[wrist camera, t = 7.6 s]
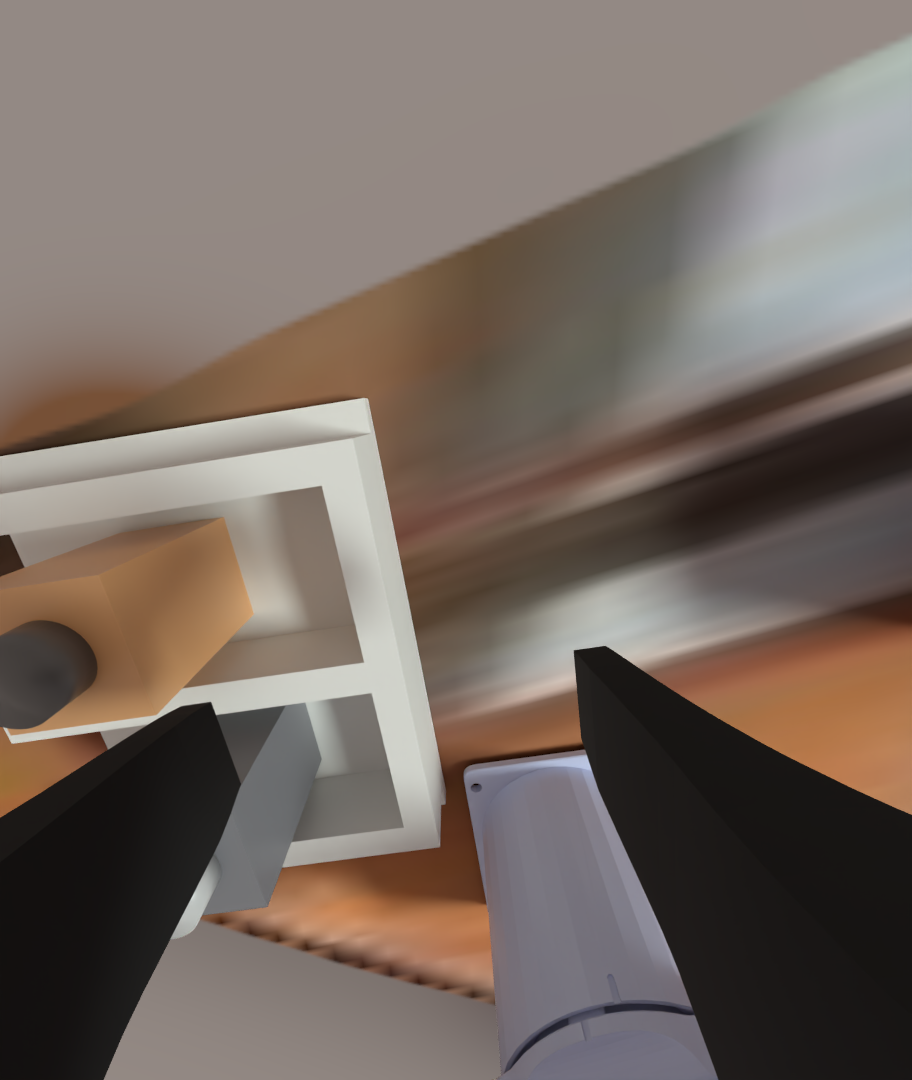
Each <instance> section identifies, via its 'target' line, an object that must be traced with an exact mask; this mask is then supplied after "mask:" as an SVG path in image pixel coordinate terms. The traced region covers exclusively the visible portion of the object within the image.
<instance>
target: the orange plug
mask: <svg viewBox="0 0 912 1080" xmlns="http://www.w3.org/2000/svg"><path fill="white" fill-rule="evenodd" d="M253 615H254V613H253V609H252V606H251V603H250V600H249V597H248V593H247V590H246V587H245V584H244V581H243V577H242V574H241V571H240V568H239V564H238V561H237V558H236V555H235V552H234V548H233V545H232V542H231V539H230V535H229V532H228V529H227V526H226V523H225V519H224V517H220V518H214V519H207V520H201V521H194V522H188V523H181V524H175V525H168V526H162V527H155V528H149V529H142V530H136V531H129V532H123V533H118V534H115V535H113V536H110V537H107V538H104V539H102V540H99V541H96V542H93V543H91V544H88V545H85V546H82V547H80V548H77V549H74V550H72V551H69V552H66V553H63V554H61V555H58V556H55V557H52V558H50V559H47V560H44V561H41V562H39V563H36V564H33V565H30V566H28V567H25V568H22V569H20V570H17V571H14V572H11V573H9V574H6V575H3V576H0V727H4V728H7V729H8V731H9V733H10V735H11V736H12V735H19V734H26V733H33V732H41V731H48V730H55V729H62V728H69V727H76V726H83V725H90V724H97V723H104V722H111V721H119V720H126V719H133V718H140V717H147V716H154V715H157V714H158V713H159V712H160V711H161V710H162V709H163V708H164V707H165V706H166V705H167V704H168V703H169V701H170V700H171V699H172V698H173V697H174V696H175V695H176V694H177V693H178V692H179V691H180V690H181V689H182V688H183V687H184V686H185V685H186V684H187V683H188V682H189V681H190V680H191V679H192V678H193V677H194V676H195V675H196V674H197V673H198V672H199V671H200V669H201V668H202V667H203V666H204V665H205V664H206V663H207V662H208V661H209V660H210V659H211V658H212V657H213V656H214V655H215V654H216V653H217V652H218V651H219V650H220V649H221V648H222V647H223V646H224V645H225V644H226V643H227V642H228V641H229V640H230V638H231V637H232V636H233V635H234V634H235V633H236V632H237V631H238V630H239V629H240V628H241V627H242V626H243V625H244V624H245V623H246V622H247V621H248V620H249V619H250V618H251V617H252V616H253Z"/></svg>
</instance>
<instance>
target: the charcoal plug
mask: <svg viewBox="0 0 912 1080" xmlns="http://www.w3.org/2000/svg"><path fill="white" fill-rule="evenodd" d="M216 716H217V719H218V722H219V725H220V727H221V730H222V733H223V736H224V738H225V741H226V744H227V747H228V749H229V752H230V755H231V758H232V760H233V763H234V766H235V769H236V771H237V774H238V777H239V780H240V782H241V786H240V789H239V792H238V795H237V797H236V800H235V803H234V806H233V809H232V812H231V815H230V817H229V820H228V822H227V825H226V827H225V830H224V832H223V835H222V838H221V840H220V842H219V844H218V846H217V848H216V850H215V852H214V855H213V857H212V859H211V860H210V862H209V864H208V866H207V868H206V870H205V872H204V874H203V876H202V878H201V880H200V882H199V884H198V886H197V888H196V890H195V892H194V894H193V896H192V898H191V900H190V902H189V904H188V906H187V908H186V910H185V912H184V914H183V916H182V917H181V919H180V921H179V923H178V925H177V927H176V929H175V931H174V933H173V935H172V937H171V939H170V940H172V939H177V938H181V937H183V936H186V935H187V934H189V933H190V932H192V931H193V930H194V929H195V927H196V926H197V924H198V922H199V920H200V918H201V916H202V915H209V914H216V913H224V912H232V911H240V910H248V909H256V908H264V907H268V904H269V902H270V899H271V896H272V893H273V891H274V888H275V885H276V883H277V880H278V877H279V874H280V872H281V869H282V866H283V864H284V861H285V858H286V855H287V853H288V850H289V847H290V845H291V842H292V839H293V836H294V834H295V831H296V828H297V826H298V823H299V820H300V817H301V815H302V812H303V809H304V807H305V804H306V801H307V798H308V796H309V793H310V790H311V787H312V785H313V782H314V779H315V777H316V774H317V771H318V768H319V766H320V763H321V760H322V758H321V755H320V751H319V748H318V744H317V741H316V738H315V734H314V731H313V727H312V724H311V720H310V717H309V714H308V710H307V707H306V703H298V704H291V705H284V706H277V707H269V708H262V709H255V710H248V711H241V712H234V713H227V714H220V715H216Z"/></svg>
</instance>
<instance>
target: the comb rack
mask: <svg viewBox="0 0 912 1080" xmlns="http://www.w3.org/2000/svg"><path fill="white" fill-rule="evenodd" d="M220 517H224V519H225V523H226V526H227V529H228V532H229V535H230V539H231V542H232V545H233V548H234V552H235V555H236V558H237V561H238V564H239V568H240V571H241V574H242V577H243V581H244V584H245V587H246V590H247V593H248V597H249V600H250V603H251V606H252V609H253V613H254V615H253V616H252V617H251V618H250V619H249V620H248V621H247V622H246V623H245V624H244V625H243V626H242V627H241V628H240V629H239V630H238V631H237V632H236V633H235V634H234V635H233V636H232V637H231V638H230V640H229V641H228V642H227V643H226V644H225V645H224V646H223V647H222V648H221V649H220V650H219V651H218V652H217V653H216V654H215V655H214V656H213V657H212V658H211V659H210V660H209V661H208V662H207V663H206V664H205V665H204V666H203V667H202V668H201V669H200V671H199V672H198V673H197V674H196V675H195V676H194V677H193V678H192V679H191V680H190V681H189V682H188V683H187V684H186V685H185V686H184V687H183V688H182V689H181V690H180V691H179V692H178V693H177V694H176V695H175V696H174V697H173V698H172V699H171V700H170V701H169V703H168V704H167V705H166V706H165V707H164V708H163V709H162V710H161V711H160V712H159V713H158V714H157V715H154V716H147V717H140V718H133V719H126V720H119V721H111V722H104V723H97V724H90V725H83V726H76V727H69V728H62V729H55V730H48V731H41V732H33V733H26V734H19V735H12V736H11V735H10V733H9V731H8V729H7V728H4V727H3V728H4V730H5V732H6V733H7V735H8V737H9V739H10V741H11V743H12V744H13V743H21V742H28V741H35V740H42V739H49V738H56V737H63V736H70V735H77V734H85V733H92V732H99V731H100V733H101V735H102V737H103V739H104V742H105V744H106V746H107V748H108V749H110V748H112V747H113V746H115V745H116V744H118V743H119V742H121V741H122V740H124V739H126V738H127V737H129V736H130V735H132V734H134V733H135V732H137V731H138V730H140V729H142V728H143V727H145V726H146V725H148V724H150V723H151V722H153V721H155V720H157V719H158V718H160V717H162V716H163V715H165V714H167V713H169V712H171V711H173V710H175V709H177V708H179V707H180V706H185V705H192V704H199V703H206V702H211V703H212V705H213V708H214V711H215V714H216V715H220V714H227V713H234V712H241V711H248V710H255V709H262V708H269V707H277V706H284V705H291V704H298V703H306V707H307V710H308V714H309V717H310V720H311V724H312V727H313V731H314V734H315V738H316V741H317V744H318V748H319V751H320V755H321V758H322V760H321V763H320V766H319V768H318V771H317V774H316V777H315V779H314V782H313V785H312V787H311V790H310V793H309V796H308V798H307V801H306V804H305V807H304V809H303V812H302V815H301V817H300V820H299V823H298V826H297V828H296V831H295V834H294V836H293V839H292V842H291V845H290V847H289V850H288V853H287V855H286V858H285V861H284V864H283V866H282V868H283V867H291V866H299V865H306V864H314V863H322V862H330V861H337V860H345V859H353V858H360V857H368V856H376V855H384V854H391V853H399V852H407V851H414V850H422V849H430V848H438V847H440V834H441V805H445V804H446V788H445V783H444V778H443V773H442V768H441V763H440V758H439V753H438V748H437V743H436V738H435V733H434V728H433V723H432V718H431V713H430V708H429V703H428V698H427V693H426V688H425V683H424V678H423V673H422V668H421V663H420V657H419V652H418V647H417V642H416V637H415V632H414V627H413V622H412V617H411V612H410V607H409V602H408V597H407V592H406V587H405V582H404V577H403V572H402V567H401V562H400V557H399V552H398V547H397V542H396V537H395V532H394V527H393V522H392V517H391V512H390V507H389V502H388V497H387V492H386V487H385V482H384V477H383V472H382V467H381V462H380V457H379V452H378V447H377V442H376V437H375V432H374V427H373V422H372V417H371V412H370V407H369V402H368V399H367V398H361V399H355V400H348V401H342V402H336V403H330V404H324V405H317V406H311V407H305V408H299V409H292V410H286V411H280V412H274V413H267V414H261V415H255V416H249V417H243V418H236V419H230V420H224V421H218V422H211V423H205V424H199V425H193V426H187V427H180V428H174V429H168V430H162V431H155V432H149V433H143V434H137V435H131V436H124V437H118V438H112V439H106V440H99V441H93V442H87V443H81V444H75V445H68V446H62V447H56V448H50V449H43V450H37V451H31V452H25V453H18V454H12V455H6V456H0V536H1V535H8V534H10V537H11V539H12V541H13V543H14V545H15V548H16V550H17V552H18V554H19V556H20V558H21V561H22V563H23V565H24V567H28V566H30V565H33V564H36V563H39V562H41V561H44V560H47V559H50V558H52V557H55V556H58V555H61V554H63V553H66V552H69V551H72V550H74V549H77V548H80V547H82V546H85V545H88V544H91V543H93V542H96V541H99V540H102V539H104V538H107V537H110V536H113V535H115V534H118V533H123V532H129V531H136V530H142V529H149V528H155V527H162V526H168V525H175V524H181V523H188V522H194V521H201V520H207V519H214V518H220Z"/></svg>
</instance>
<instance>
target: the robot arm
mask: <svg viewBox="0 0 912 1080" xmlns="http://www.w3.org/2000/svg"><path fill="white" fill-rule="evenodd" d="M574 659H575V671H576V682H577V694H578V706H579V717H580V729H581V739H582V742H583V745H584V748H585V750H577V751H570V752H563V753H555V754H548V755H540V756H533V757H526V758H518V759H511V760H503V761H496V762H488V763H481V764H474V765H470V766H468V767H467V768H466V769H465V770H464V783H465V789H466V794H467V799H468V805H469V810H470V816H471V821H472V827H473V832H474V838H475V843H476V849H477V854H478V860H479V865H480V870H481V876H482V881H483V887H484V892H485V898H486V903H487V909H488V913H489V925H490V938H491V951H492V964H493V977H494V989H495V1002H496V1014H497V1027H498V1041H499V1053H500V1065H501V1066H500V1067H501V1076H500V1077H498V1078H496V1079H493V1080H912V815H911V814H908V813H906V812H904V811H901V810H899V809H896V808H894V807H892V806H890V805H888V804H885V803H883V802H881V801H879V800H876V799H874V798H872V797H870V796H868V795H865V794H863V793H861V792H859V791H857V790H854V789H852V788H850V787H848V786H846V785H844V784H842V783H840V782H838V781H836V780H834V779H832V778H830V777H828V776H826V775H824V774H822V773H819V772H817V771H815V770H813V769H811V768H809V767H807V766H805V765H803V764H801V763H799V762H797V761H795V760H793V759H791V758H789V757H787V756H785V755H783V754H781V753H779V752H778V751H776V750H774V749H772V748H770V747H768V746H766V745H764V744H762V743H761V742H759V741H757V740H755V739H753V738H752V737H750V736H748V735H746V734H745V733H743V732H741V731H739V730H738V729H736V728H734V727H732V726H730V725H729V724H727V723H725V722H723V721H722V720H720V719H718V718H717V717H715V716H713V715H712V714H710V713H708V712H707V711H705V710H703V709H702V708H700V707H698V706H697V705H695V704H693V703H692V702H690V701H689V700H687V699H685V698H684V697H682V696H681V695H679V694H677V693H676V692H674V691H673V690H671V689H670V688H668V687H667V686H665V685H663V684H662V683H660V682H659V681H657V680H656V679H654V678H653V677H651V676H650V675H648V674H647V673H645V672H644V671H642V670H641V669H639V668H638V667H636V666H635V665H633V664H632V663H631V662H629V661H628V660H626V659H625V658H623V657H622V656H620V655H619V654H617V653H616V652H614V651H613V650H611V649H609V648H608V647H606V646H602V647H595V648H587V649H580V650H574ZM475 783H478V784H479V785H473V784H475ZM240 786H241V782H240V780H239V777H238V774H237V771H236V769H235V766H234V763H233V760H232V758H231V755H230V752H229V749H228V747H227V744H226V741H225V738H224V736H223V733H222V730H221V727H220V725H219V722H218V719H217V716H216V714H215V711H214V708H213V705H212V703H211V702H206V703H199V704H192V705H185V706H180V707H179V708H177V709H175V710H173V711H171V712H169V713H167V714H165V715H163V716H162V717H160V718H158V719H157V720H155V721H153V722H151V723H150V724H148V725H146V726H145V727H143V728H142V729H140V730H138V731H137V732H135V733H134V734H132V735H130V736H129V737H127V738H126V739H124V740H122V741H121V742H119V743H118V744H116V745H115V746H113V747H112V748H110V749H108V750H107V751H105V752H104V753H102V754H101V755H99V756H97V757H96V758H94V759H93V760H91V761H90V762H88V763H87V764H85V765H84V766H82V767H80V768H79V769H77V770H76V771H74V772H73V773H71V774H70V775H68V776H66V777H65V778H63V779H62V780H60V781H59V782H57V783H56V784H54V785H52V786H51V787H49V788H48V789H46V790H45V791H43V792H41V793H40V794H38V795H37V796H35V797H33V798H32V799H30V800H28V801H27V802H25V803H24V804H22V805H20V806H19V807H17V808H15V809H14V810H12V811H11V812H9V813H7V814H6V815H4V816H3V817H1V818H0V1080H104V1077H105V1075H106V1072H107V1070H108V1068H109V1065H110V1063H111V1061H112V1058H113V1056H114V1054H115V1052H116V1049H117V1047H118V1044H119V1042H120V1040H121V1038H122V1035H123V1033H124V1031H125V1029H126V1027H127V1024H128V1023H129V1020H130V1018H131V1016H132V1014H133V1012H134V1010H135V1008H136V1006H137V1004H138V1002H139V1000H140V997H141V995H142V993H143V991H144V989H145V987H146V985H147V984H148V981H149V980H150V978H151V976H152V974H153V972H154V970H155V968H156V966H157V964H158V962H159V960H160V958H161V956H162V954H163V952H164V950H165V948H166V947H167V945H168V943H169V941H170V939H171V937H172V935H173V933H174V931H175V929H176V927H177V925H178V923H179V921H180V919H181V917H182V916H183V914H184V912H185V910H186V908H187V906H188V904H189V902H190V900H191V898H192V896H193V894H194V892H195V890H196V888H197V886H198V884H199V882H200V880H201V878H202V876H203V874H204V872H205V870H206V868H207V866H208V864H209V862H210V860H211V859H212V857H213V855H214V852H215V850H216V848H217V846H218V844H219V842H220V840H221V838H222V835H223V832H224V830H225V827H226V825H227V822H228V820H229V817H230V815H231V812H232V809H233V806H234V803H235V800H236V797H237V795H238V792H239V789H240Z"/></svg>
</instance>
